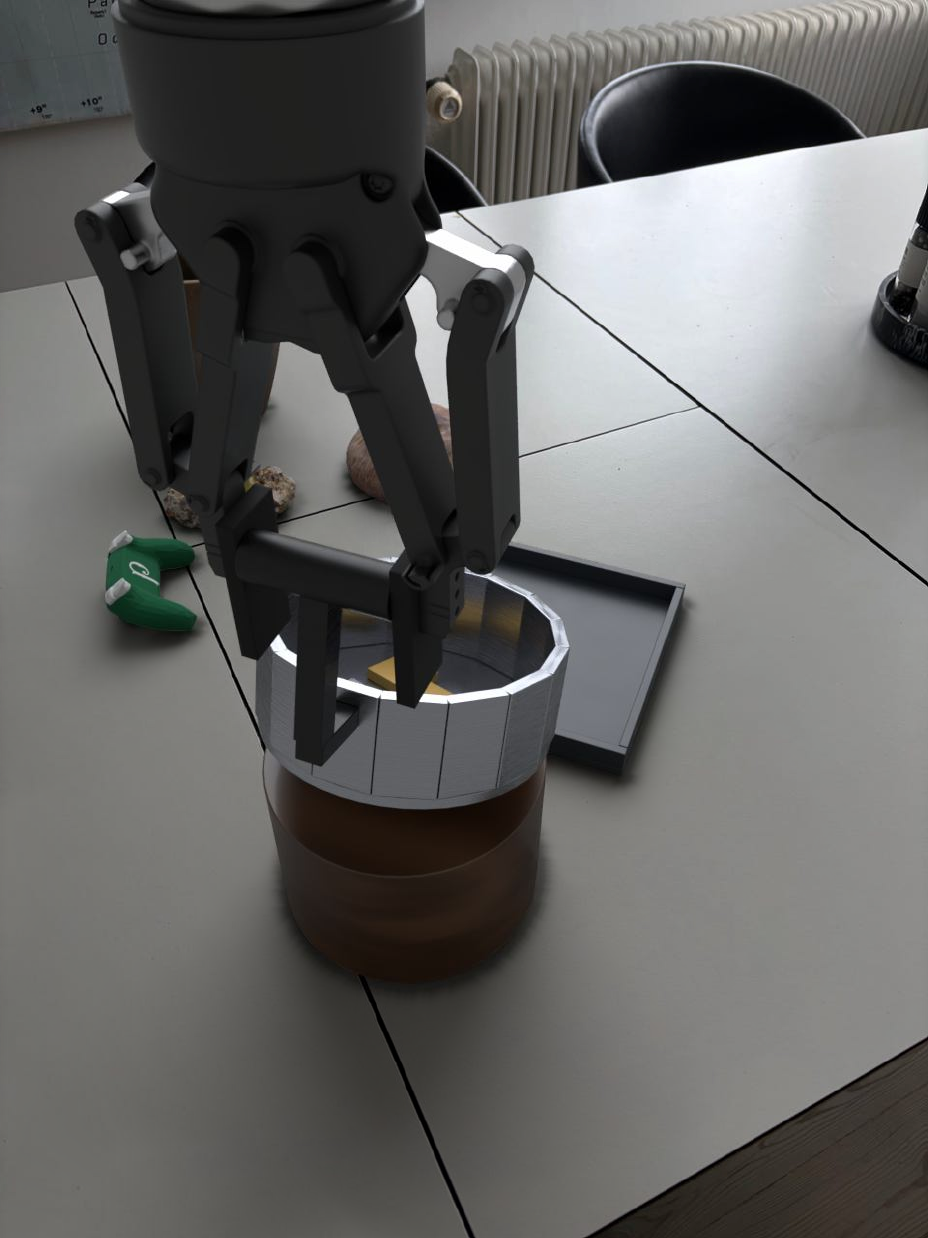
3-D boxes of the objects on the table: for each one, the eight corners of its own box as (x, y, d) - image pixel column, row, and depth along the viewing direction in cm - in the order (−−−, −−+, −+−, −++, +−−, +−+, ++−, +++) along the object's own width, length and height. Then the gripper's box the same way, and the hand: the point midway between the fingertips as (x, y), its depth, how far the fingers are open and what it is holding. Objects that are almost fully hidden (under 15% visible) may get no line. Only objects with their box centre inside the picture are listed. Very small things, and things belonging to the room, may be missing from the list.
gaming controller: (170, 576, 79) (101, 541, 76) (199, 544, 78) (130, 508, 74) (170, 657, 73) (95, 623, 69) (201, 624, 71) (126, 588, 68)
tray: (442, 543, 80) (442, 523, 78) (681, 604, 74) (686, 583, 73) (345, 692, 68) (343, 671, 66) (622, 775, 63) (625, 755, 61)
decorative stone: (465, 521, 82) (465, 465, 78) (327, 497, 84) (321, 441, 80) (500, 443, 90) (502, 389, 86) (374, 423, 92) (370, 369, 89)
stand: (354, 740, 65) (341, 628, 58) (568, 808, 61) (581, 695, 54) (237, 929, 55) (206, 820, 48) (484, 1023, 51) (488, 919, 44)
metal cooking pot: (341, 624, 58) (354, 406, 52) (582, 692, 54) (625, 464, 48) (145, 795, 42) (133, 511, 36) (463, 907, 38) (507, 609, 33)
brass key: (366, 678, 52) (367, 667, 51) (401, 662, 53) (402, 652, 53) (463, 733, 48) (464, 722, 48) (497, 714, 50) (498, 704, 50)
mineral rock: (288, 444, 86) (295, 474, 79) (297, 492, 88) (304, 525, 81) (160, 464, 84) (155, 497, 77) (172, 513, 86) (168, 548, 79)
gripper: (695, -24, 24) (600, 661, 40) (45, -79, 29) (189, 546, 45) (609, 52, 19) (539, 804, 35) (-161, -31, 24) (82, 656, 40)
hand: (341, 658), depth 40 cm, fingers closed on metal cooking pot, 6 cm apart
